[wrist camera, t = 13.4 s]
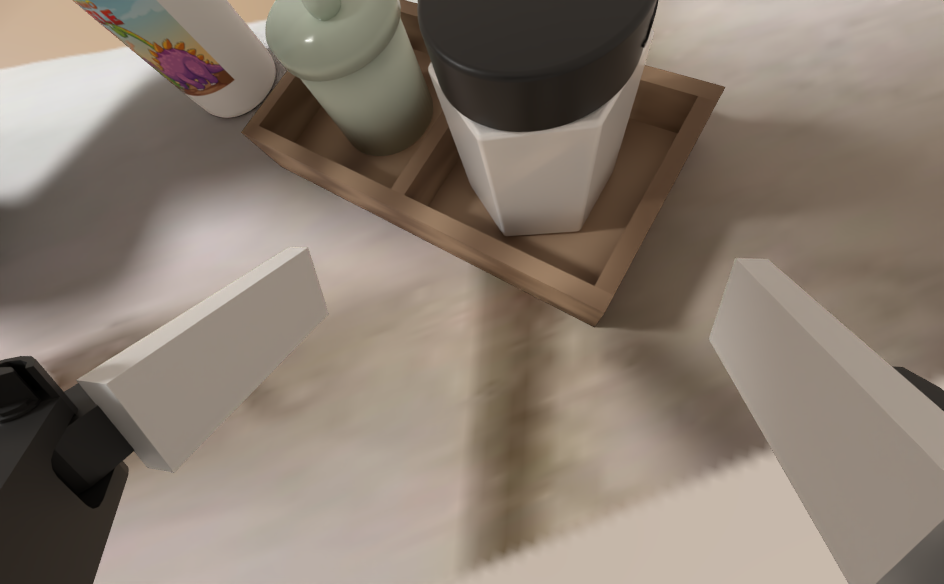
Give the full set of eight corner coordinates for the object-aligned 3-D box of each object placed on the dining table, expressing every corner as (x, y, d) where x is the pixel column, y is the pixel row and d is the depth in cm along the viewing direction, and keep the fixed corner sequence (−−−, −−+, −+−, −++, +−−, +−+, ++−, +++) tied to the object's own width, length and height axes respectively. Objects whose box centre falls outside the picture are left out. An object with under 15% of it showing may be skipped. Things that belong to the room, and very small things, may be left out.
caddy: (280, 165, 29) (241, 132, 26) (374, 35, 31) (350, -15, 27) (594, 327, 21) (604, 313, 17) (696, 137, 23) (725, 87, 19)
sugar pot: (323, 139, 28) (215, 16, 19) (377, 63, 29) (299, -88, 20) (401, 174, 26) (320, 54, 16) (456, 90, 27) (409, -67, 17)
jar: (638, 196, 22) (738, -19, 10) (521, 267, 22) (494, 132, 11) (555, 100, 25) (563, -149, 13) (453, 163, 25) (375, -28, 14)
